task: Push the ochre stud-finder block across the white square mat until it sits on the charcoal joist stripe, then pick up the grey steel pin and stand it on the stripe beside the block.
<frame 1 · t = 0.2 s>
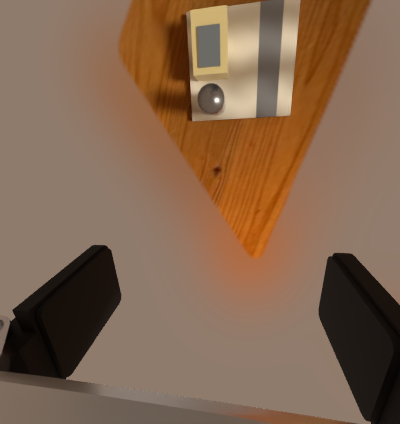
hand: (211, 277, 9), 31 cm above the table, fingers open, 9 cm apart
steel pin: (216, 105, 34), point 1 cm above the table, touching white square mat
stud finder: (212, 52, 31), point 1 cm above the table, touching white square mat
white square mat: (240, 67, 32), on the table
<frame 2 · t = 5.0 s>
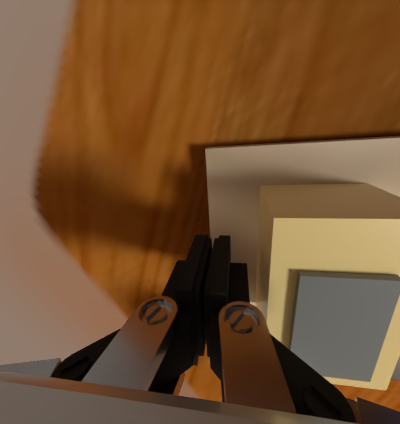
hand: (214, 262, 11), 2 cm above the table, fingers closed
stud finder: (303, 251, 11), point 1 cm above the table, touching gripper
white square mat: (348, 270, 12), on the table
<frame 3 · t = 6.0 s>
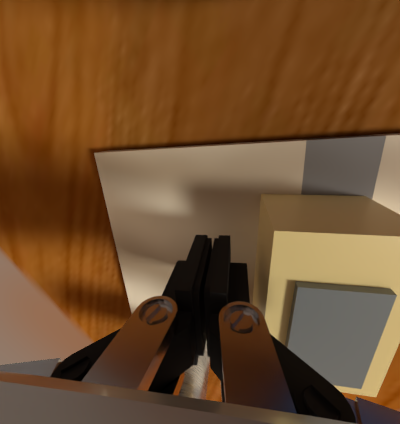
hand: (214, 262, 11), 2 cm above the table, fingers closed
steel pin: (191, 335, 14), point 1 cm above the table, touching white square mat
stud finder: (300, 259, 11), point 1 cm above the table, touching gripper
white square mat: (244, 264, 13), on the table
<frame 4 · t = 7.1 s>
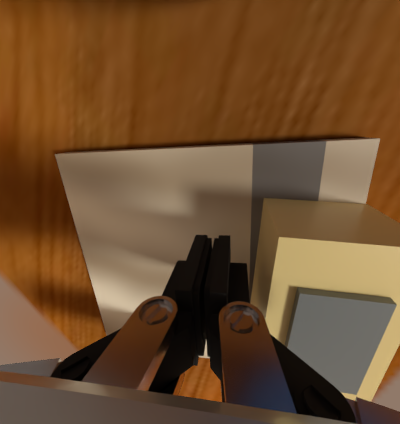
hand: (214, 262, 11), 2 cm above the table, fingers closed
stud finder: (299, 264, 11), point 1 cm above the table, touching gripper, white square mat
white square mat: (207, 263, 13), on the table
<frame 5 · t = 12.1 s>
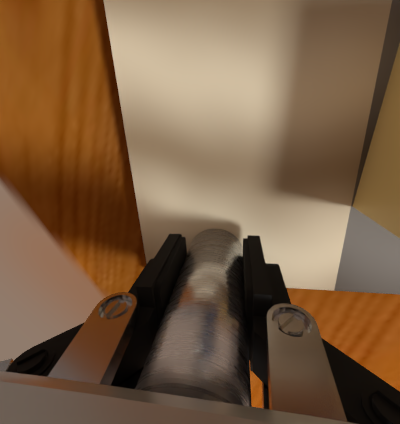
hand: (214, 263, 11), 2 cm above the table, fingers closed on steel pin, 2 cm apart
steel pin: (216, 252, 11), point 1 cm above the table, touching gripper, white square mat
white square mat: (290, 149, 10), on the table
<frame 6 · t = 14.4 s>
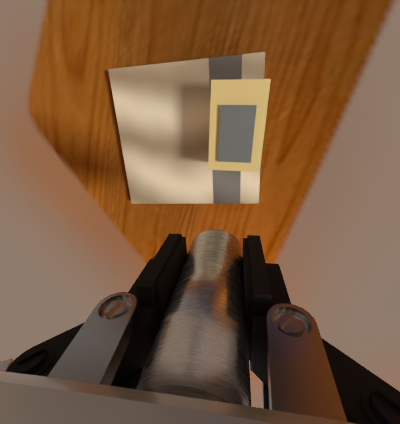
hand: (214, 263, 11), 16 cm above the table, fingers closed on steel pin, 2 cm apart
steel pin: (216, 253, 11), point 15 cm above the table, touching gripper
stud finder: (236, 128, 22), point 1 cm above the table, touching white square mat
white square mat: (189, 139, 24), on the table
when the fingers open (3 cm above the table, at t = 16.8 s): steel pin stays where it is, resting on white square mat.
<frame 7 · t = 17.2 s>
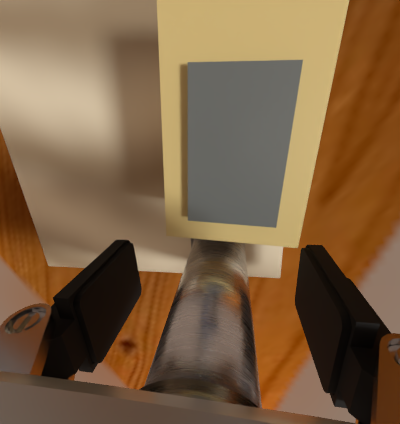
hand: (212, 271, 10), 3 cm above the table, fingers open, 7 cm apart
steel pin: (218, 244, 12), point 1 cm above the table, touching white square mat
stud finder: (237, 132, 10), point 1 cm above the table, touching white square mat
white square mat: (144, 153, 12), on the table
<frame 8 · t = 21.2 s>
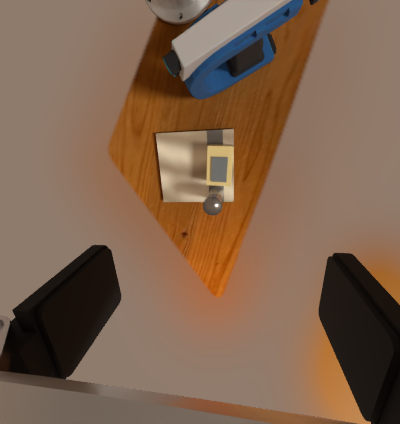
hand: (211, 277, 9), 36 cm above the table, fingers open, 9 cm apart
steel pin: (216, 192, 45), point 1 cm above the table, touching white square mat
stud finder: (220, 163, 42), point 1 cm above the table, touching white square mat
white square mat: (196, 167, 44), on the table
handheld scanner: (236, 66, 37), on the table
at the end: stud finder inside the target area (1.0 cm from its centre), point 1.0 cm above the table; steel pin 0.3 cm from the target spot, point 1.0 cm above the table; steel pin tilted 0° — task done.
